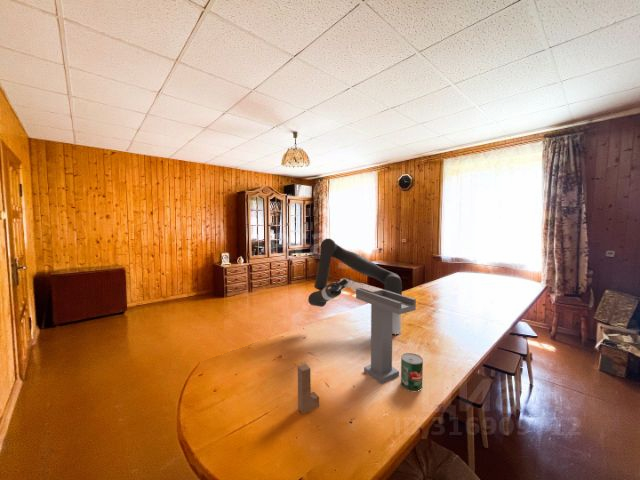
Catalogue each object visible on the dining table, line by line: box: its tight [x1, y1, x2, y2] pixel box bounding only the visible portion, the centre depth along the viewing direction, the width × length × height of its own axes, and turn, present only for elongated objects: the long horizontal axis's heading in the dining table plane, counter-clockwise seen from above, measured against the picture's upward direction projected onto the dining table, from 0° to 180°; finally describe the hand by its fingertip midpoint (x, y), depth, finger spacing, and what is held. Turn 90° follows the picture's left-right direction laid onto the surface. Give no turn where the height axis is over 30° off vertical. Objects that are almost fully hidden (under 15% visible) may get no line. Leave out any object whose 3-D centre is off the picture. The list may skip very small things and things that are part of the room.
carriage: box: [339, 277, 385, 296], centre depth 119 cm, size 25×6×3 cm, turn 31°
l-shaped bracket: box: [297, 363, 320, 415], centre depth 89 cm, size 7×3×15 cm, turn 123°
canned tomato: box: [400, 352, 424, 392], centre depth 101 cm, size 8×8×11 cm
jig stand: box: [355, 286, 417, 385], centre depth 107 cm, size 24×10×34 cm, turn 31°
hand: (348, 280), depth 125 cm, fingers closed on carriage, 2 cm apart
